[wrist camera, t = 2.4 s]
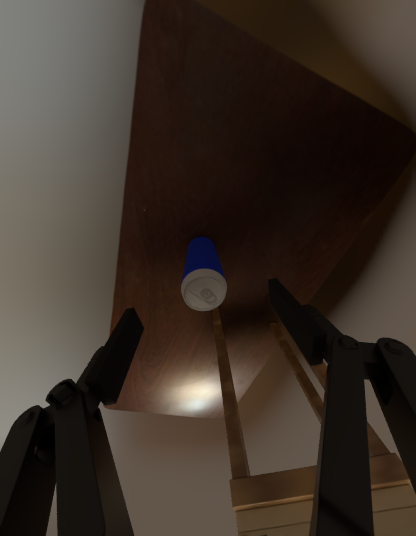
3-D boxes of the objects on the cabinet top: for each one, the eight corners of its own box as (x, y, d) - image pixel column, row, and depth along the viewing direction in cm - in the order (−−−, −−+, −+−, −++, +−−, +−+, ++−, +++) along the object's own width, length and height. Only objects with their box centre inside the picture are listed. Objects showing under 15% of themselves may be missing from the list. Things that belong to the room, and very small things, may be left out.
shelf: (275, 294, 37) (415, 479, 13) (276, 326, 41) (382, 509, 17) (210, 307, 37) (232, 508, 14) (217, 338, 41) (244, 530, 18)
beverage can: (181, 247, 31) (169, 293, 17) (202, 229, 30) (207, 263, 16) (200, 266, 33) (202, 320, 19) (220, 250, 31) (237, 295, 18)
